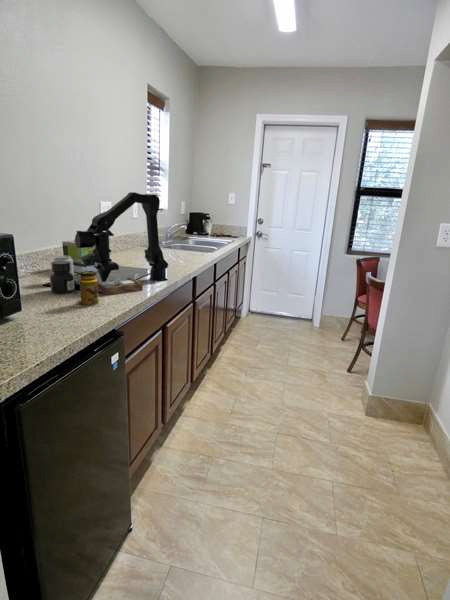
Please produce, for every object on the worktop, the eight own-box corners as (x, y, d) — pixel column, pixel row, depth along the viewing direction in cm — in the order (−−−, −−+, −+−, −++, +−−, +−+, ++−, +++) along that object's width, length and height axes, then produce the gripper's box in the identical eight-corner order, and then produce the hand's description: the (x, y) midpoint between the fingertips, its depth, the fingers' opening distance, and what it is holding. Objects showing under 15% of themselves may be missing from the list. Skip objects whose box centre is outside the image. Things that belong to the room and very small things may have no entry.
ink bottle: (75, 293, 140) (73, 264, 137) (51, 295, 137) (48, 265, 133) (74, 287, 149) (72, 259, 145) (50, 289, 145) (48, 260, 141)
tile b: (108, 287, 153) (108, 280, 152) (113, 290, 149) (113, 283, 148) (97, 289, 150) (97, 282, 149) (101, 291, 146) (101, 284, 145)
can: (67, 285, 151) (65, 258, 147) (52, 284, 152) (49, 256, 149) (77, 282, 158) (76, 255, 155) (63, 280, 159) (60, 254, 156)
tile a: (130, 286, 156) (129, 279, 155) (135, 289, 153) (135, 282, 152) (119, 287, 153) (119, 281, 152) (124, 290, 149) (124, 283, 149)
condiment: (98, 306, 127) (96, 274, 123) (73, 307, 125) (71, 274, 121) (100, 300, 133) (99, 270, 130) (76, 301, 131) (74, 269, 128)
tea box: (99, 271, 181) (97, 242, 176) (82, 274, 173) (80, 244, 168) (80, 267, 188) (78, 239, 184) (63, 269, 180) (61, 240, 176)
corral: (129, 284, 159) (129, 277, 158) (142, 290, 150) (142, 283, 150) (94, 288, 149) (94, 281, 148) (106, 295, 140) (106, 288, 139)
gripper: (74, 244, 149) (77, 280, 153) (91, 251, 135) (93, 290, 140) (100, 243, 156) (102, 277, 160) (118, 249, 142) (119, 286, 147)
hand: (103, 282), depth 152 cm, fingers closed
